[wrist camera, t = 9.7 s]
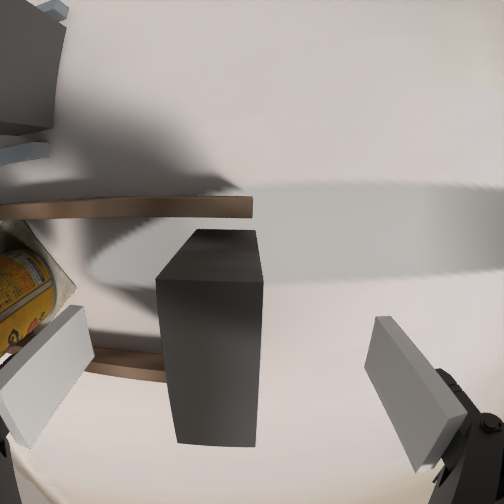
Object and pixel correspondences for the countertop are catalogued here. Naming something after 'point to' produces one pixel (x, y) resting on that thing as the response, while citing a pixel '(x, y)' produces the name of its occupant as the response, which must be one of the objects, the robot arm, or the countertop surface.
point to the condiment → (27, 285)
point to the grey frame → (28, 72)
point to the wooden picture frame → (190, 315)
